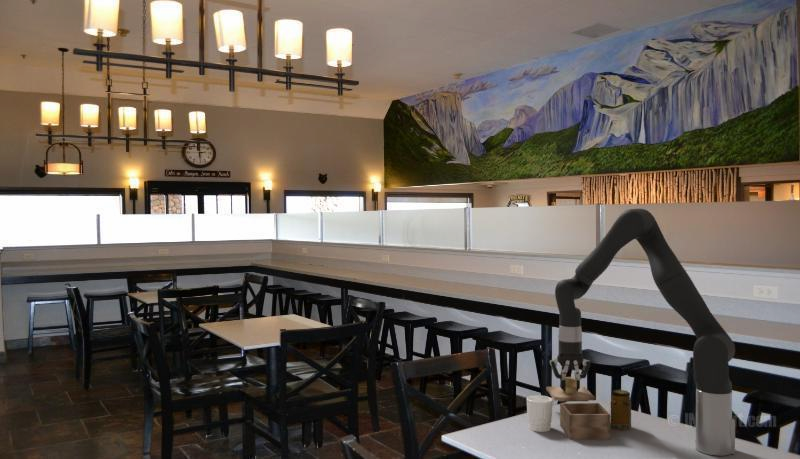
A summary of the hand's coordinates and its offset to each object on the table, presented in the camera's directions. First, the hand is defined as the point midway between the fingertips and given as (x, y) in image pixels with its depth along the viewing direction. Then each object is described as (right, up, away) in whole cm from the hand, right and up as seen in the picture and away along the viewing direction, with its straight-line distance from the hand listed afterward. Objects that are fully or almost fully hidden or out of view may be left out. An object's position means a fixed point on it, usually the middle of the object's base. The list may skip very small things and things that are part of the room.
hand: (570, 390), depth 216 cm
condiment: (+13, -9, -14) cm, 21 cm away
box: (0, -9, -18) cm, 20 cm away
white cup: (-13, -9, -14) cm, 21 cm away
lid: (0, -1, 0) cm, 1 cm away
